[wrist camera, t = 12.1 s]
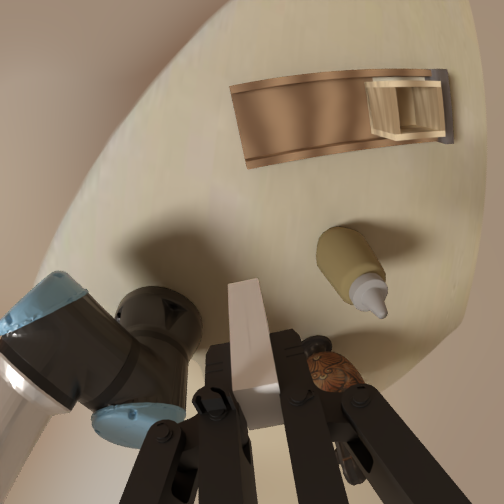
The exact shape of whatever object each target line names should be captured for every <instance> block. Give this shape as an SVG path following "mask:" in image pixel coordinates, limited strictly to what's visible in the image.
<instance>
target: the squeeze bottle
mask: <svg viewBox="0 0 504 504" xmlns="http://www.w3.org/2000/svg"><path fill="white" fill-rule="evenodd" d="M316 259H317V266H318V267H319V269H320V270H321V272H322V273H323V274H324V276H325V277H326V278H327V280H328V281H329V282H330V283H331V285H332V286H333V287H334V289H335V290H336V291H337V293H338V294H339V295H340V297H341V298H342V299H343V301H344V302H346V303H348V304H350V305H354V306H355V307H356V309H358V310H360V311H371V312H373V313H374V314H375V315H376V316H377V317H378V318H380V319H383V318H385V317H386V316H387V314H388V312H387V309H386V305H385V302H384V300H385V298H386V296H387V294H388V287H387V285H386V283H385V282H386V273H385V271H384V269H383V268H382V266H381V264H380V262H379V261H378V259H377V257H376V256H375V254H374V253H373V251H372V249H371V248H370V246H369V245H368V243H367V241H366V240H365V238H364V237H363V235H361V234H360V233H358V232H357V231H355V230H352V229H348V228H343V227H333V228H329V229H328V230H327V231H325V232H324V233H323V234H322V235H321V237H320V238H319V241H318V245H317V253H316Z"/></svg>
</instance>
